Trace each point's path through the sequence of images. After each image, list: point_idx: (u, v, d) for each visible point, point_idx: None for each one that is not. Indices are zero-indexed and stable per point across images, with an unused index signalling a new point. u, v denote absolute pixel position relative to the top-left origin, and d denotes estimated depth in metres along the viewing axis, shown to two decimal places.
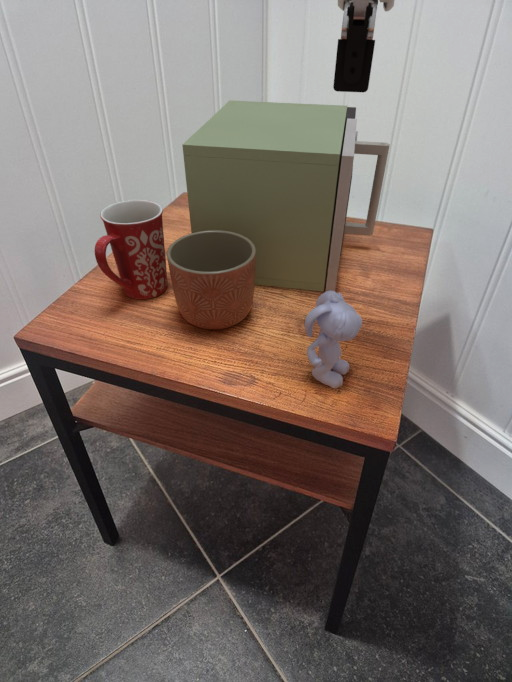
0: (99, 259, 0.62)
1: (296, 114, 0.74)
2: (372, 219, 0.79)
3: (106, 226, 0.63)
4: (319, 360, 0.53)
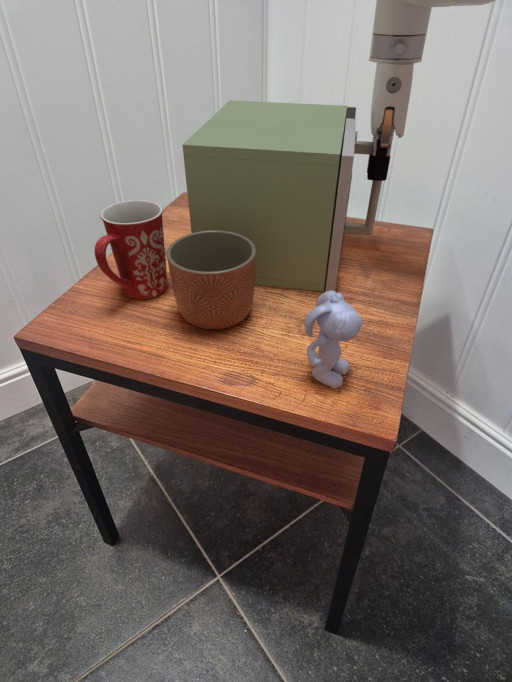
0: (99, 259, 0.62)
1: (296, 114, 0.74)
2: (371, 219, 0.79)
3: (106, 226, 0.63)
4: (319, 360, 0.53)
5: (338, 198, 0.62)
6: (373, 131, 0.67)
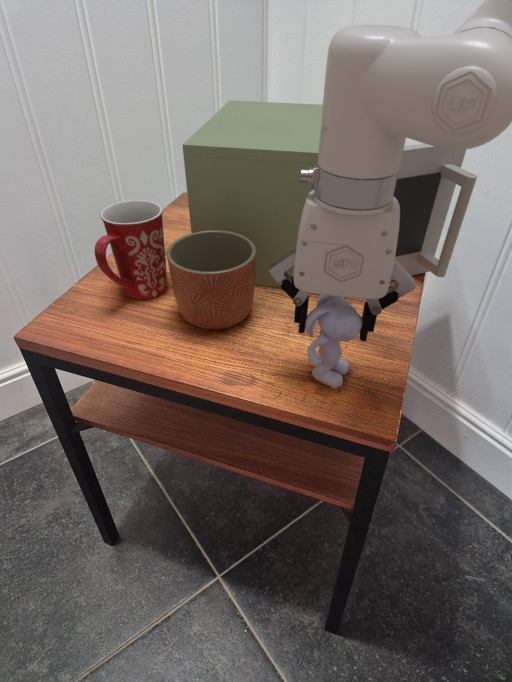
0: (99, 259, 0.62)
1: (296, 114, 0.74)
2: (442, 258, 0.68)
3: (106, 226, 0.63)
4: (319, 360, 0.53)
5: None
6: None
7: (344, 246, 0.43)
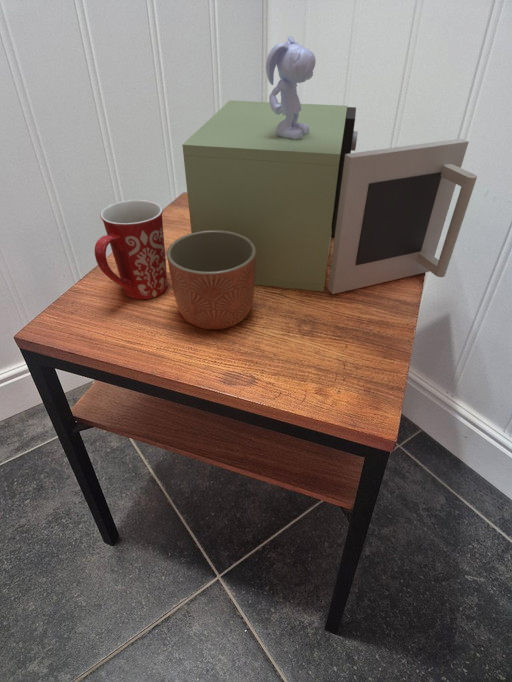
0: (99, 259, 0.62)
1: None
2: (442, 258, 0.68)
3: (106, 226, 0.63)
4: (280, 105, 0.61)
5: (340, 197, 0.62)
6: None
7: None
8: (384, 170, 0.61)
